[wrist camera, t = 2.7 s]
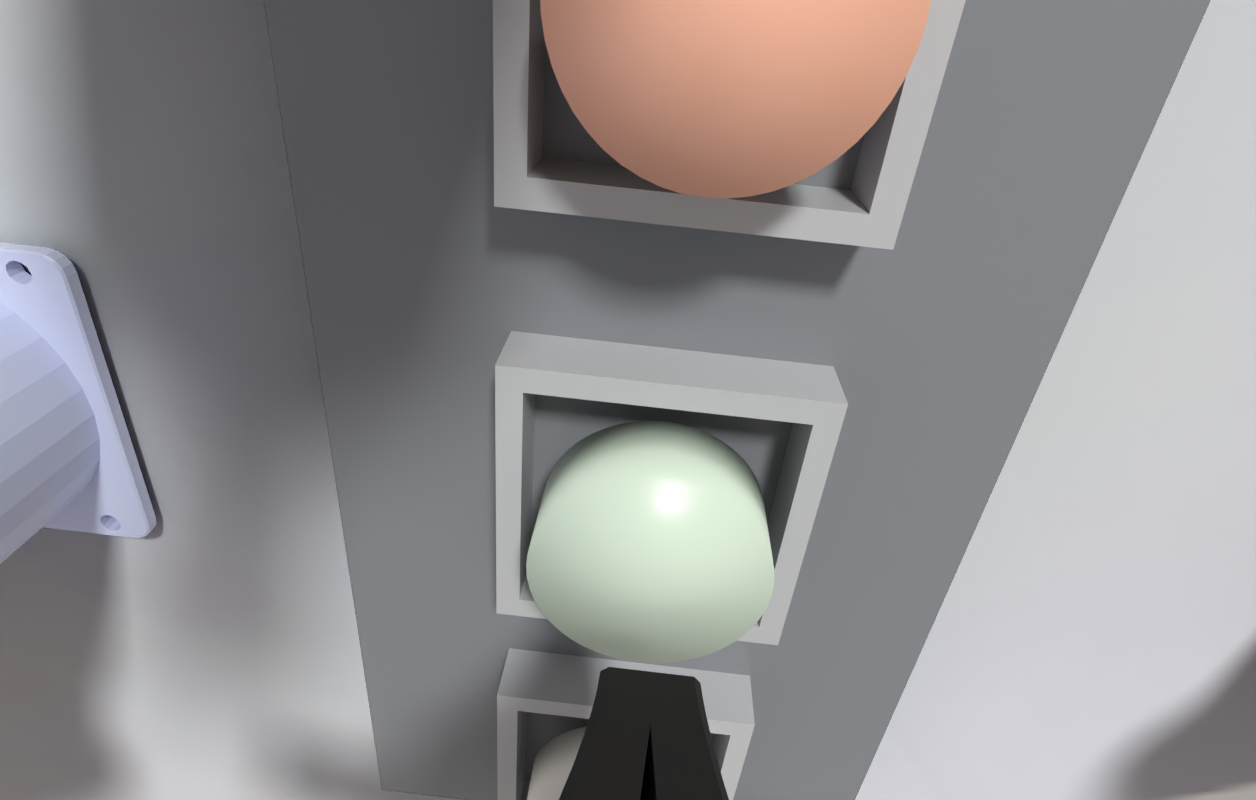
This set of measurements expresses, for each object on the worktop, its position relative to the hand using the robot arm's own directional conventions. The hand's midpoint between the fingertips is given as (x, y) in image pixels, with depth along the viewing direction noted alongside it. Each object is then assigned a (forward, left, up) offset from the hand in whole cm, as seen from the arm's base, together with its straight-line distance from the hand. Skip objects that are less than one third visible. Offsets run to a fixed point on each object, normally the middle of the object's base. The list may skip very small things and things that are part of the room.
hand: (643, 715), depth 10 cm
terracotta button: (0, +9, -4) cm, 10 cm away
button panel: (0, 0, -8) cm, 8 cm away
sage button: (0, 0, -4) cm, 4 cm away
